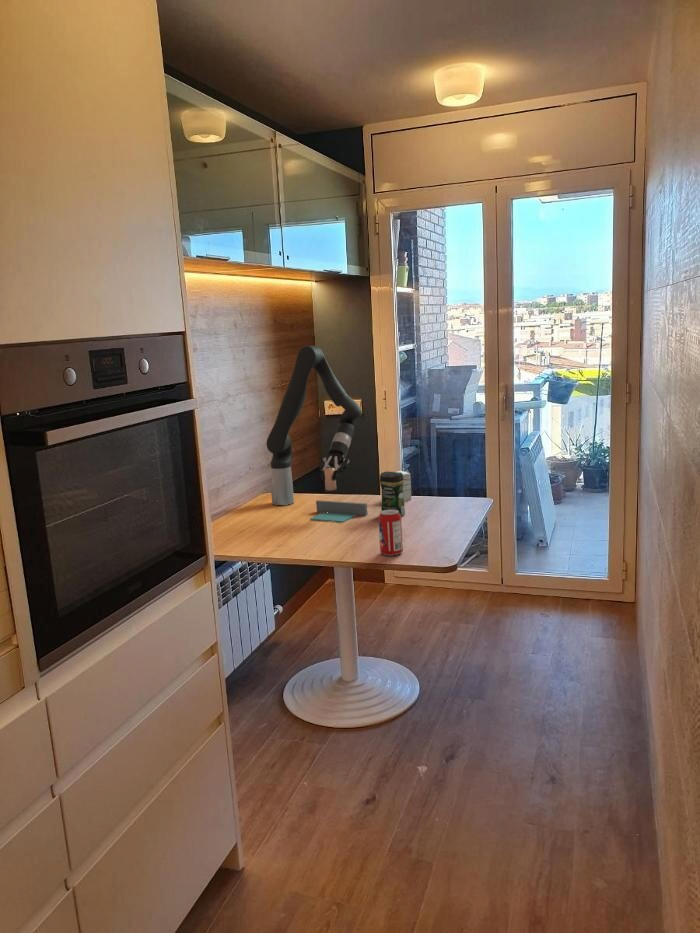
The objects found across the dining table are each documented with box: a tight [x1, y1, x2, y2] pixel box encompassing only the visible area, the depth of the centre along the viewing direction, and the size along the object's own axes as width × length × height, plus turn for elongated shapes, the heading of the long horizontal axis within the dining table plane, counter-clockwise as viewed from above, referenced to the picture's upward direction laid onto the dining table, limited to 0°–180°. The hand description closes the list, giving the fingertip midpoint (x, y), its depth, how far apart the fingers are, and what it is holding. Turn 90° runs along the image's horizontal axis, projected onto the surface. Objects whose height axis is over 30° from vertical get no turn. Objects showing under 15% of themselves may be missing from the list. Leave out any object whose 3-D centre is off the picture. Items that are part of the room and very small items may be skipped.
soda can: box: [378, 509, 404, 557], centre depth 252 cm, size 8×8×15 cm
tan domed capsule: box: [324, 466, 337, 491], centre depth 304 cm, size 4×4×9 cm
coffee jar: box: [379, 470, 406, 518], centre depth 302 cm, size 10×8×19 cm
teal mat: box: [309, 512, 357, 523], centre depth 307 cm, size 16×11×1 cm
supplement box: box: [396, 470, 412, 502], centre depth 329 cm, size 7×7×13 cm
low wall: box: [315, 499, 368, 517], centre depth 313 cm, size 24×2×5 cm, turn 61°
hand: (328, 479), depth 302 cm, fingers closed on tan domed capsule, 4 cm apart
